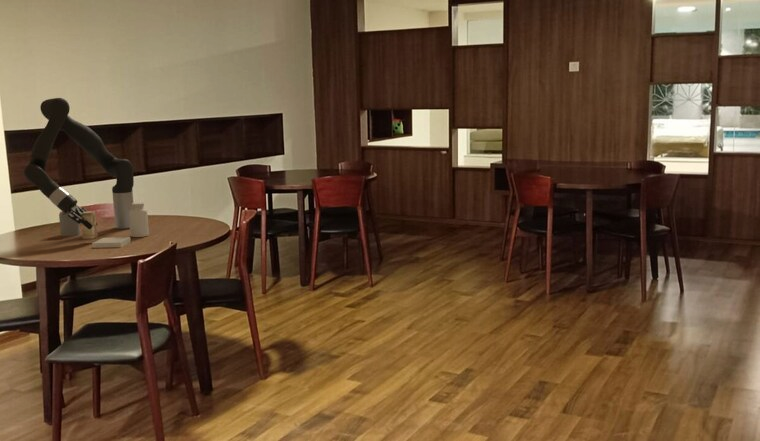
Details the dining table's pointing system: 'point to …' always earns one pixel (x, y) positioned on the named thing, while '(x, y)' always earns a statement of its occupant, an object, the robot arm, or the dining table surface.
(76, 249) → the dining table surface
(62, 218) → the cup
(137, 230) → the pill bottle
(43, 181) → the robot arm
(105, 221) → the dining table surface
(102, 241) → the block
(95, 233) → the maple block
